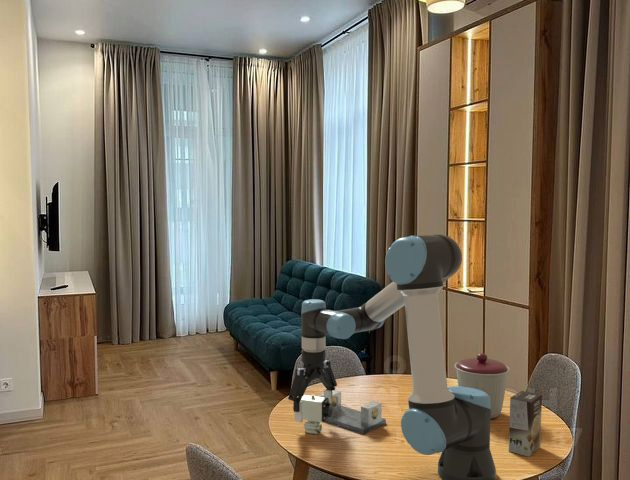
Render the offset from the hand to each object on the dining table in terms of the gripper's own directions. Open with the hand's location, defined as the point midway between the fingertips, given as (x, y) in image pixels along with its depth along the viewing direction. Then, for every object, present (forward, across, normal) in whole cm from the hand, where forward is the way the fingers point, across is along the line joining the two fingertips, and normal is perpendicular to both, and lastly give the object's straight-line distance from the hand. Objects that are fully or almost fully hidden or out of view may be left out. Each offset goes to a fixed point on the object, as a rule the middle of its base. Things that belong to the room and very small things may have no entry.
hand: (313, 415), depth 189 cm
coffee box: (+5, -32, +55) cm, 64 cm away
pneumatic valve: (+6, 0, 0) cm, 6 cm away
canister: (+6, -50, +32) cm, 60 cm away
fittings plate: (+5, -15, +3) cm, 16 cm away
